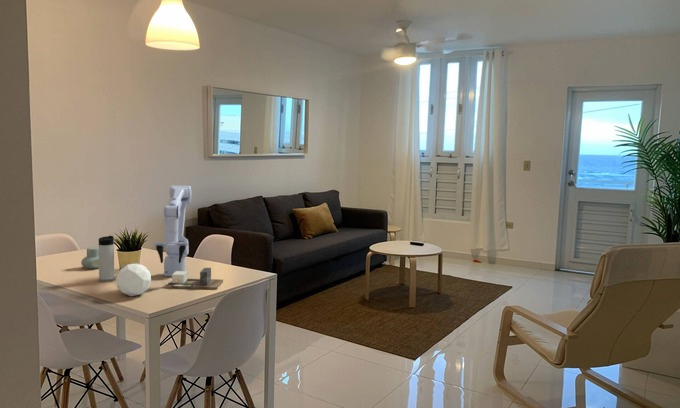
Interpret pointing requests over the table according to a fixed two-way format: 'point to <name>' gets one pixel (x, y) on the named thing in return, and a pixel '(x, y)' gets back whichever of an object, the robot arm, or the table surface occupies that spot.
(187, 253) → the robot arm
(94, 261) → the air freshener
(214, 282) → the base
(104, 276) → the travel mug
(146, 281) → the geodesic sphere
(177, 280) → the block
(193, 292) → the table surface
